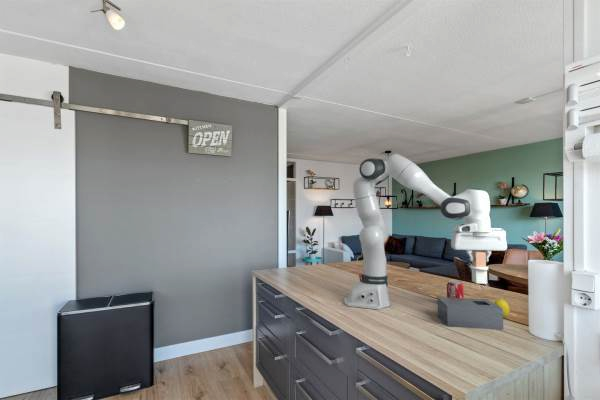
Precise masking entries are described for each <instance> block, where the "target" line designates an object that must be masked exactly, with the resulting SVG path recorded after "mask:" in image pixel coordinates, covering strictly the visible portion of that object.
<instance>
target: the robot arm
mask: <svg viewBox="0 0 600 400" xmlns="http://www.w3.org/2000/svg"><path fill="white" fill-rule="evenodd" d="M358 169H359V174H360V177H358V178H356V179H355V180H354V181H353V184H352V191H353V199H354V203H355V206H356V212H357V215H358V218H359V219H360V222H361V223H362V225H363V228H362V229H361V230H360V232H359V235H358V237H359V238H358V240H359V242H360V245H361V246H360V247H361V252H362V256H363V258H362V259H363V273H358V278H359V281H358V282H357V283H356V284H354V285H353V286H351V287H350V289H349V291H348V295H347V296H345V297H344V299H343V303H344V305H346V306H347V307H354V308H355V307H356V308H363V309H370V310H382V309H383V308H388V307H390V306H391V301H390V296H389V291H388V286H389V278H388V275H387V271H388V269H387V257H386V253H385V252H386V251H385V243H387V241H388V239H389V231H388V229H387V226H386V222H385V220H384V218H383V214H382V212H381V209H380V205H379V200H378V198H377V194H376V188H375V187H376V186H379V185H380V184H381V183H382V182H384V181H386V180H387V179H388V178H389V177H391V178H393V179H394V180H395V181H396V182H398V183H399V184H401V185H402V186H404V187H406V188H407V189H410V190H413V191H415V192H419V193H421V194H422V195H425V196H426V197H427V198H428V199H431V200H432V201H433V202H434V203H435V204H437V205H438V206H439V210H440V212H441V214H442V216H444V217H445V218H447V219H449V220H452V221H453V220H455V221H457V220H458V221H460V220H462V219H465V220H464V221H465V222H464V223H460V224H458V225H454V226H453V227H452V229H453V232H452V234H451V239H450V247H451V248H452V250H455V251H466V252H465V253H466V254H467V256H468V257H469V261H470V262H472V261H475V257H473V256H472V251H484V252H486V263H488V262H489V261H490V260H489V258H490V256H491V255H492V251H494V252H496V251H497V252H500V251H501V252H505V251H507V249H508V243H507V238H506V237H507V231H506V230H505V229H504V228H502V227H492V225H491V221H492V220H491V218H490V212H491V202H490V201H491V200H490V196H489V194H488V192H487V191H486V190H484V189H481V188H467V189H466V190H464V191H463V192H460V193H459V194H456V195H453V196H452V195H450V194H448V193H447V192H446V191H444V190H442V188H440V187H438V186H437V185H436V184H435V183H434V182H433V181H432V180H431V179H430V178H429V176H428V175H427V174H426V173H425V172H424V170H422V168H420V167H419V166H418V165H417V164H416V163H414V162H413V161H412V160H410V159H408V158H407V157H405V156H402V155H400V154H398V153H393V154H390V155H389V156H388V157H387V158H386V159H384V160H383V159H382V158H381V159H380V158H374V157H373V158H372V157H371V158H366V159H364V160H363V161H362V162H361V163H360V165H359V168H358Z"/></svg>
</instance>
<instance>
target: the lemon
mask: <svg viewBox="0 0 600 400" xmlns="http://www.w3.org/2000/svg"><path fill="white" fill-rule="evenodd" d="M493 303H494V304H496V305H498V306H499V307H501V308H503V319H504V318H506V317H508V316H509V314H510V313H511V312H510V306H509V304H508V302H507V301H505V300H504V299H502V298H499V299H497V300H495V302H493Z"/></svg>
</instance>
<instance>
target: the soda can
mask: <svg viewBox="0 0 600 400" xmlns="http://www.w3.org/2000/svg"><path fill="white" fill-rule="evenodd" d="M464 292H465V291H464V285H463V283H462V281H460V280H453V279H451V280H450V279H449V280H448V281H447V283H446V297H449V298H465V294H464Z"/></svg>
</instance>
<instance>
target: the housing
mask: <svg viewBox="0 0 600 400" xmlns="http://www.w3.org/2000/svg"><path fill="white" fill-rule="evenodd" d="M436 301H437V302H436V303H437V304H436V305H437V308H436V309H437V316H438V318H439V319H440V320H441V321H442V322H443V324H445V326H446V327H448V328H449V327H452V328H467V329H468V328H469V329H470V328H471V329H482V330H483V329H484V330H485V329H486V330H502V331H503V330H504V318H503V308H501V307H499V306H498V305H496V304H494V303H495V302H492V301H491V300H489V299H487V298H469V297H468V298H467V297H466V298H465V297H464V298H449V297H447V296H445V297H444V296H442V297H441V296H436Z"/></svg>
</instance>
